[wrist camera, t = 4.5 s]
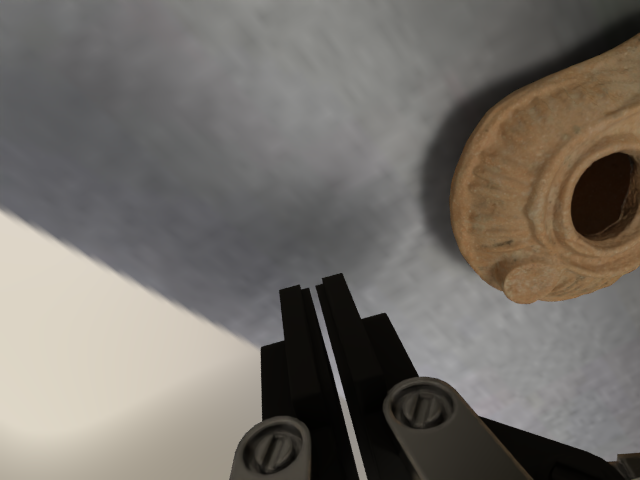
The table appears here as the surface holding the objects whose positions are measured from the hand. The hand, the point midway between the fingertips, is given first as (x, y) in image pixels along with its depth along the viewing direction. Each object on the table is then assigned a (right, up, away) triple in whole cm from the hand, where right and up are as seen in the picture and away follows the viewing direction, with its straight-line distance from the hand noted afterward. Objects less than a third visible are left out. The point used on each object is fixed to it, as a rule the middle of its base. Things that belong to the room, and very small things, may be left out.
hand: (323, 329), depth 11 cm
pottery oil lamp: (+10, +6, +7) cm, 14 cm away
